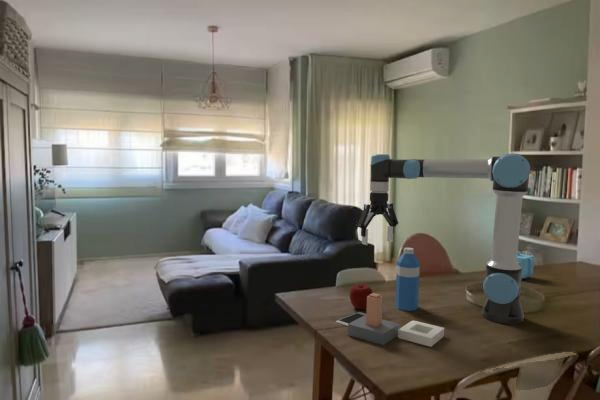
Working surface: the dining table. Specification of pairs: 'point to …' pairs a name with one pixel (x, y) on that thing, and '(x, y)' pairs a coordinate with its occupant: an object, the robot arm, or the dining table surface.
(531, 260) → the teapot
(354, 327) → the grey flat block
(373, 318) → the plug
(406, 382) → the dining table surface
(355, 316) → the smartphone
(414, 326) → the white square frame
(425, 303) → the dining table surface
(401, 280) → the water bottle
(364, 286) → the apple
